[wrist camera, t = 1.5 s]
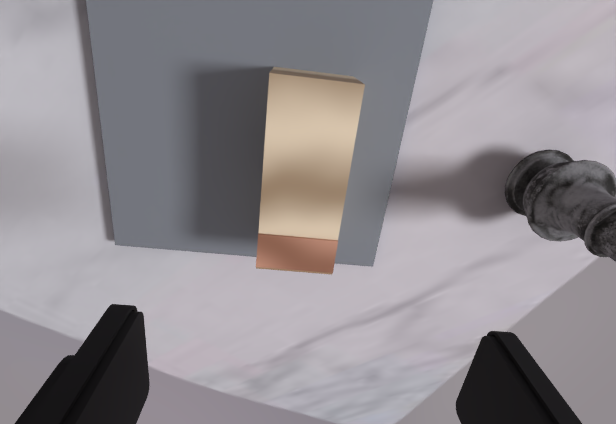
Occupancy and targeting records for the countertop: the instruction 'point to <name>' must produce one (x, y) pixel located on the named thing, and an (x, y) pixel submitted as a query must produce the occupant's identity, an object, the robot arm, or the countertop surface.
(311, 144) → the beige brown block
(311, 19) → the slate mat
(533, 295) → the countertop surface
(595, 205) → the grey chess piece
